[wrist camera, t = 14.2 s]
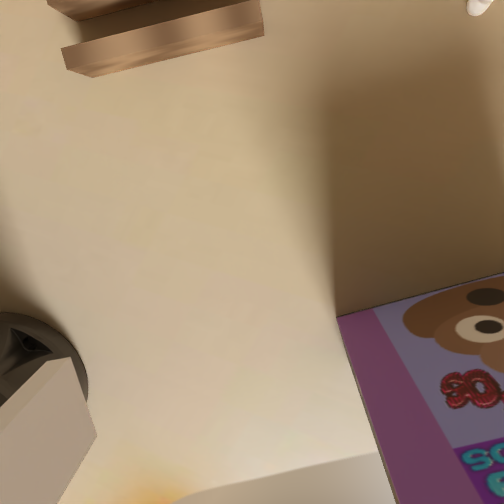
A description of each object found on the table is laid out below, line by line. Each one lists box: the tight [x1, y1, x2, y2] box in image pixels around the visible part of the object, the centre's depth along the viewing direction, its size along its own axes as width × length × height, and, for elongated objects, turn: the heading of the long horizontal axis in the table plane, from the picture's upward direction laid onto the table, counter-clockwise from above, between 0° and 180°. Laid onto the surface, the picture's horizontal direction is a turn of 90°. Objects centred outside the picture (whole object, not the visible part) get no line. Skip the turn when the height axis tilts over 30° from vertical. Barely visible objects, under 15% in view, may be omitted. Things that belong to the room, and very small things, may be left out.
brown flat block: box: [61, 0, 264, 78], centre depth 36 cm, size 15×2×5 cm, turn 102°
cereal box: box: [336, 272, 504, 504], centre depth 31 cm, size 17×5×24 cm, turn 107°
